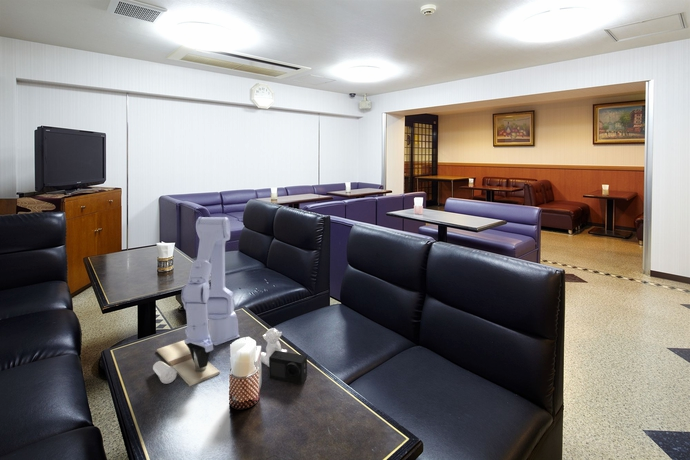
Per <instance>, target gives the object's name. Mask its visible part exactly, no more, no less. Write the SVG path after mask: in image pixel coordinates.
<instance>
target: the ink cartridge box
mask: <svg viewBox="0 0 690 460" xmlns="http://www.w3.org/2000/svg"><path fill="white" fill-rule="evenodd" d="M244 338H245V339H246V337H245V336H244ZM255 346H256V362H255V361H254V365H255V367H256V369H257V366H258V367H259V394H258V397H256V398H255V399H254V400H253V401H258V400H259V395H260V391H261V387H262V384H263V383H262V382H263V381H262V379H263V378H262V377H263V376H262V373H263V372H262V361H261V352H262V345H255Z"/></svg>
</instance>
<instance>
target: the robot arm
mask: <svg viewBox="0 0 690 460" xmlns="http://www.w3.org/2000/svg"><path fill="white" fill-rule="evenodd" d="M195 231H196V233H197V236H198V238H199V240H198V241H199V242H198V249H197V256H196V257H197V258H196V259H195V260H194V261H193V262H192V263H191V267H190V269H189V270H190V271H189V274H188V279H187V283H186V284H185V285H184V286H183V287H182V289H181V297H180V299H181V302H182V303H183V309H184V310H185V313H186V314H185V315H186V326H187V327H186V328H185V329H184V331H185V335H186V338H185V339H184V342H185V344H186V345H187V347H188V348H189V350H190V353H191V355H192V359H193V361H194V352H195V354H196V357H197V361H198V365H199V367H200V368H203V367H206V366H207V363H208V362H209V358H210V354H211V352H213V351H214V346H219V345H221V344H223V343H228V342H229V341H231V340H235V339H237V338H239V337H240V334H239V320H238V316H237V314H236V312H235V311H234V310H235V305H236V304H235V297H234V296H235V295H234V292H233V291H232V290H230V289H228V288H227V287H226V242H227V241H229V240H231V221H230V219H229V217H228V216H225V217H222V216H221V217H220V216H218V217H215V216H212V217H211V216H209V217H208V216H205V217H203V216H199V217H198V218H197V219H196V221H195ZM209 281H210V282H209ZM198 345H199V346H198ZM196 346H197V347H196ZM194 363H195V361H194Z"/></svg>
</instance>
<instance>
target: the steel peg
mask: <svg viewBox="0 0 690 460" xmlns="http://www.w3.org/2000/svg"><path fill="white" fill-rule="evenodd" d="M198 346H199V345H198ZM196 347H197V346H196ZM194 361H195V371H196V372H202V371H204V370H206V367H203V368H200V367H199V365H198V361H197V357H196V354H195V352H194Z"/></svg>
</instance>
